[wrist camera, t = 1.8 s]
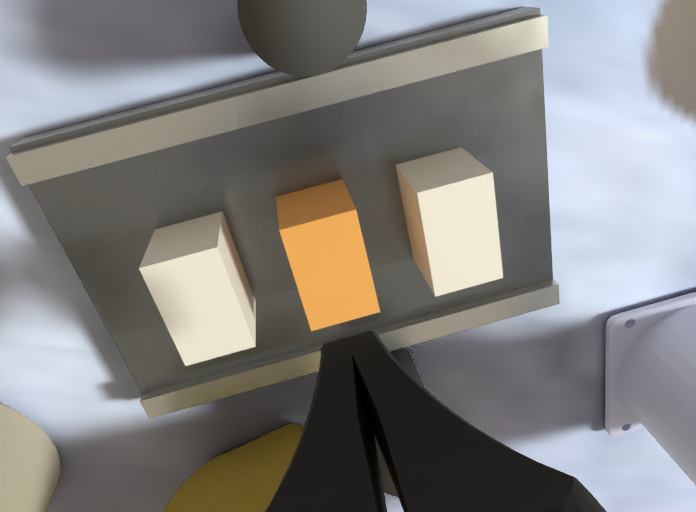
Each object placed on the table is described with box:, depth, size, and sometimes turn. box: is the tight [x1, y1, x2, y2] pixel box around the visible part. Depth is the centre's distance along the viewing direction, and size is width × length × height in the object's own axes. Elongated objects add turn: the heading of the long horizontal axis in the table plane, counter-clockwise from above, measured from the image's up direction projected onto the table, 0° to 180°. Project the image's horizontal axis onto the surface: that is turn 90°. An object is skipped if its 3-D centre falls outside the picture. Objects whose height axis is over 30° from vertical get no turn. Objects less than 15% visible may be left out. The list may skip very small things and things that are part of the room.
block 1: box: [139, 212, 256, 366], centre depth 19 cm, size 2×4×3 cm, turn 13°
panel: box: [6, 7, 559, 419], centre depth 21 cm, size 18×12×2 cm, turn 103°
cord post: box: [238, 0, 367, 77], centre depth 15 cm, size 3×3×6 cm
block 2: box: [276, 179, 380, 331], centre depth 19 cm, size 2×4×3 cm, turn 13°
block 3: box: [396, 147, 503, 297], centre depth 19 cm, size 2×4×3 cm, turn 13°
